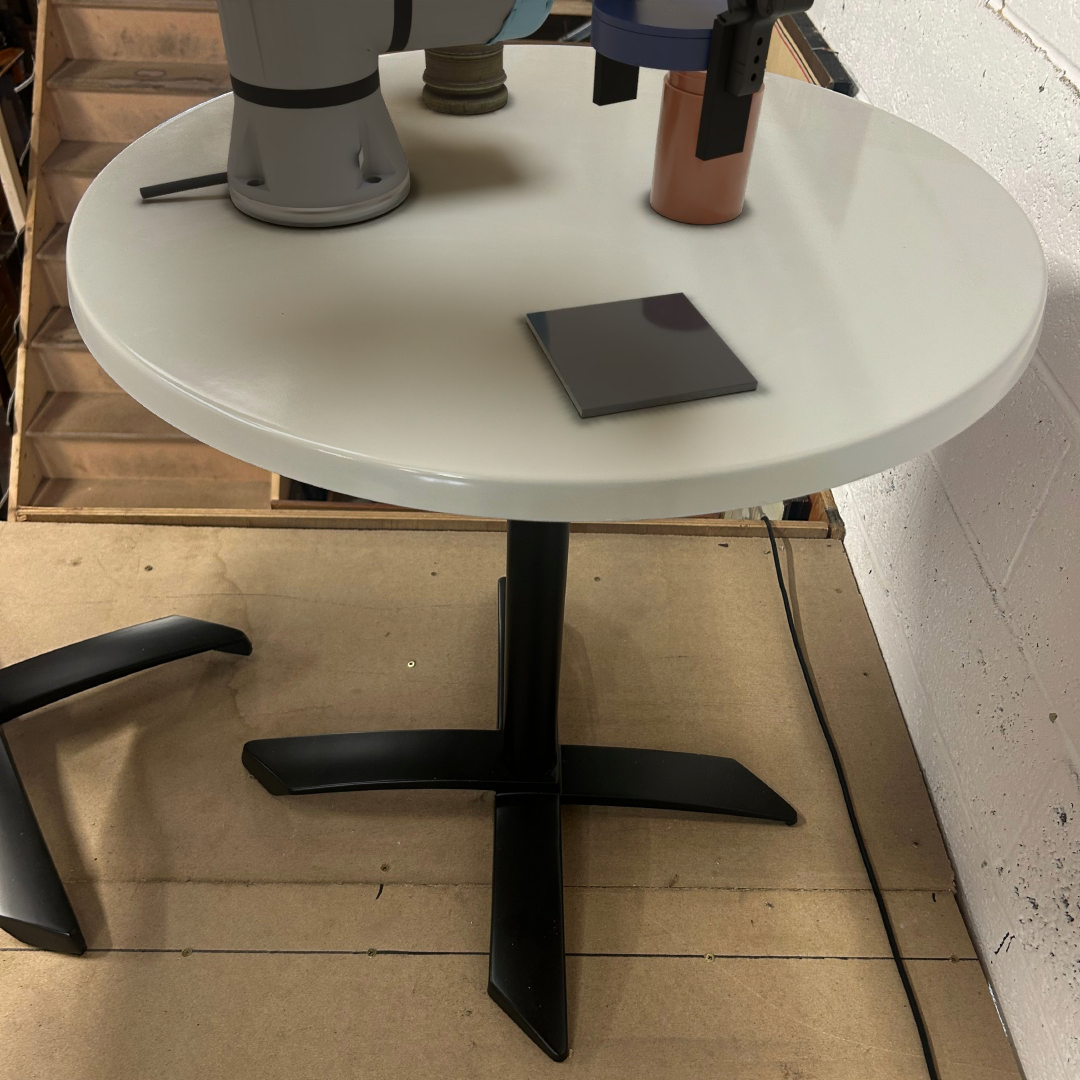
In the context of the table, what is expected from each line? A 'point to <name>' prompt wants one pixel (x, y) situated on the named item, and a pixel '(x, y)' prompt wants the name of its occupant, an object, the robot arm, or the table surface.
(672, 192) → the jar
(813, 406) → the table surface
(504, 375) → the table surface
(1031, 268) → the table surface
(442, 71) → the container
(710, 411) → the table surface
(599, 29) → the lid
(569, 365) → the coaster
